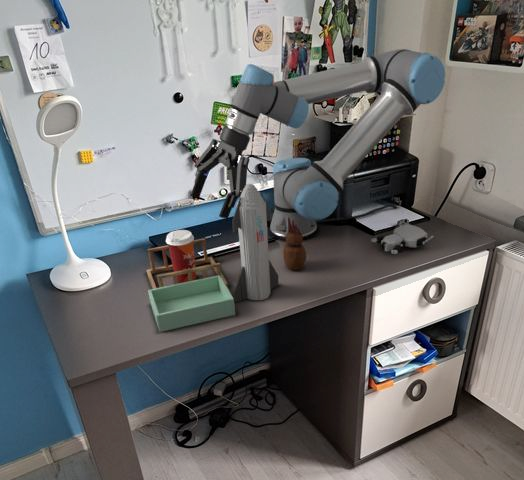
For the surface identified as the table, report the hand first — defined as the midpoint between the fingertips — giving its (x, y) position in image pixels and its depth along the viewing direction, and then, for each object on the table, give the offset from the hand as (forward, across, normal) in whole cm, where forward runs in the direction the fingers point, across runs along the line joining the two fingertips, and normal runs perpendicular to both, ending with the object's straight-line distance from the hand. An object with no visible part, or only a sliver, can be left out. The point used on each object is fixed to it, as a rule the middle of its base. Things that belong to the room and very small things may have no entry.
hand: (208, 206), depth 145 cm
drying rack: (+21, +4, -1) cm, 22 cm away
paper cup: (+21, +4, -1) cm, 22 cm away
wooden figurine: (+7, +20, +22) cm, 30 cm away
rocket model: (+14, +24, +6) cm, 28 cm away
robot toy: (-10, +32, +49) cm, 60 cm away
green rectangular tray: (+22, +18, -9) cm, 30 cm away
